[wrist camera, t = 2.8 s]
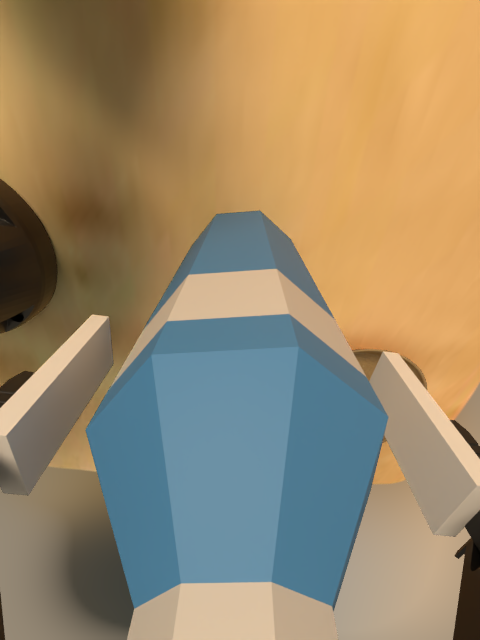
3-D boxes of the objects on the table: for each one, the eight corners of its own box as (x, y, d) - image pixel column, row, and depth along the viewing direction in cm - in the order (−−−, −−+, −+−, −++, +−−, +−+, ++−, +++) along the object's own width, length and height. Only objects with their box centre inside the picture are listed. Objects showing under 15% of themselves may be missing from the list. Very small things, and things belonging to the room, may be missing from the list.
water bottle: (309, 284, 27) (578, 817, 5) (221, 323, 29) (154, 815, 7) (268, 186, 23) (690, 728, 1) (169, 239, 25) (-309, 779, 3)
